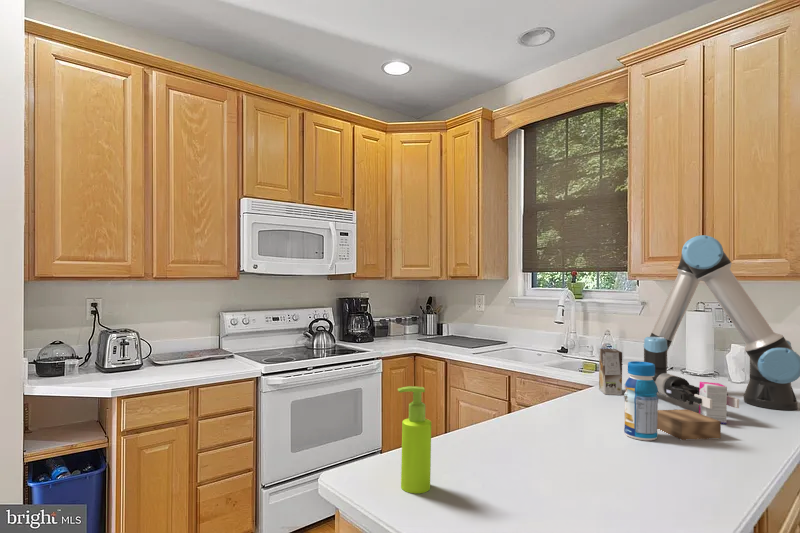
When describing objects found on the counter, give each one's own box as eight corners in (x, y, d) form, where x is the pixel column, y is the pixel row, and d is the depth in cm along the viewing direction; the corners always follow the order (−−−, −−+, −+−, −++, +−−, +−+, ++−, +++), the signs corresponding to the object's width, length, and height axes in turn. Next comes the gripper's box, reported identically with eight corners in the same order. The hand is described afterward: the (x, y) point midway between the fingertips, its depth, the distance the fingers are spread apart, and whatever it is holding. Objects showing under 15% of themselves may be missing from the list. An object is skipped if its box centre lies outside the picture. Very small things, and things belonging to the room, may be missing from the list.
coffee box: (622, 395, 180) (623, 352, 180) (604, 394, 180) (605, 351, 181) (615, 390, 189) (615, 348, 189) (598, 389, 190) (598, 348, 190)
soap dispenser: (394, 481, 100) (396, 384, 100) (427, 480, 101) (429, 384, 101) (397, 493, 94) (399, 390, 95) (432, 493, 95) (434, 390, 95)
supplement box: (727, 424, 145) (727, 386, 145) (705, 423, 146) (705, 385, 147) (718, 419, 151) (719, 382, 151) (697, 417, 152) (698, 381, 152)
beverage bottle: (650, 443, 126) (651, 367, 127) (618, 435, 133) (618, 362, 133) (663, 437, 132) (663, 363, 132) (631, 429, 138) (632, 359, 139)
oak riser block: (687, 426, 144) (687, 409, 144) (720, 439, 132) (720, 421, 132) (651, 427, 142) (651, 410, 142) (681, 441, 130) (681, 422, 130)
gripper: (700, 397, 168) (756, 416, 145) (644, 397, 165) (692, 417, 143) (701, 375, 168) (756, 391, 145) (644, 375, 165) (692, 391, 143)
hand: (724, 403), depth 144 cm, fingers open, 8 cm apart
